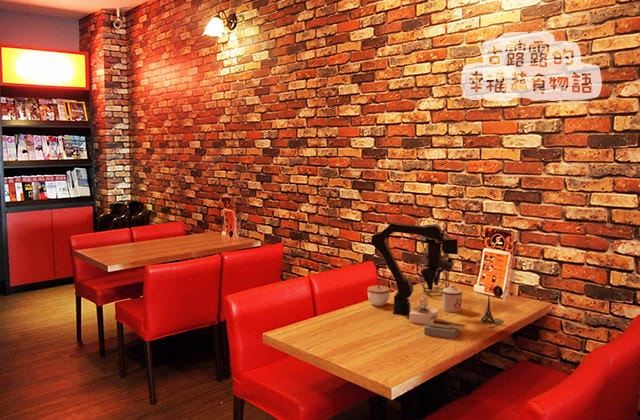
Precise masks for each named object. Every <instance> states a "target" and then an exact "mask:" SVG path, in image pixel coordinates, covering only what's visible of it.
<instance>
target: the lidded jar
mask: <svg viewBox="0 0 640 420" xmlns="http://www.w3.org/2000/svg"><path fill="white" fill-rule="evenodd" d="M390 293H391V289H390V287H388V286H385V285H380V284H379V285H371V286H368V287H367V297H368V300H369V302H370V303H371V304H372V306H376V307H383V305H384V306H385V305H386V304H387V303H388V301H389V299H390Z"/></svg>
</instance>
